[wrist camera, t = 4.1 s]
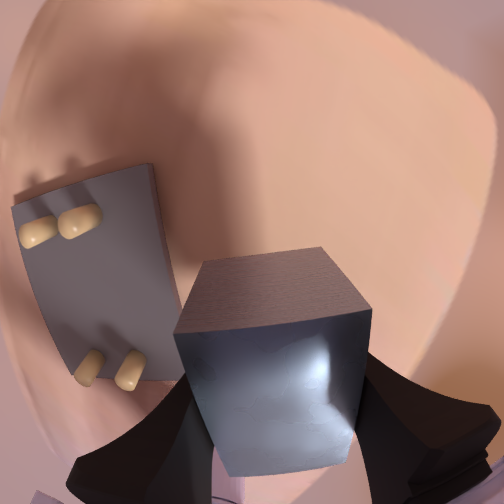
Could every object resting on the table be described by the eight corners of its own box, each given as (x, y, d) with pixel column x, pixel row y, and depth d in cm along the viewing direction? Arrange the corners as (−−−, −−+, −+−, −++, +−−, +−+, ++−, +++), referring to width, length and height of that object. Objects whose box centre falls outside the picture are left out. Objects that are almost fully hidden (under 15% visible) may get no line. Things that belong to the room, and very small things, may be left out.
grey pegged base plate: (200, 371, 21) (193, 407, 17) (75, 368, 21) (57, 394, 17) (152, 163, 16) (126, 163, 12) (18, 204, 16) (-14, 214, 13)
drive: (322, 383, 14) (345, 462, 9) (233, 394, 14) (229, 477, 9) (320, 246, 12) (372, 308, 6) (203, 261, 12) (172, 334, 7)
